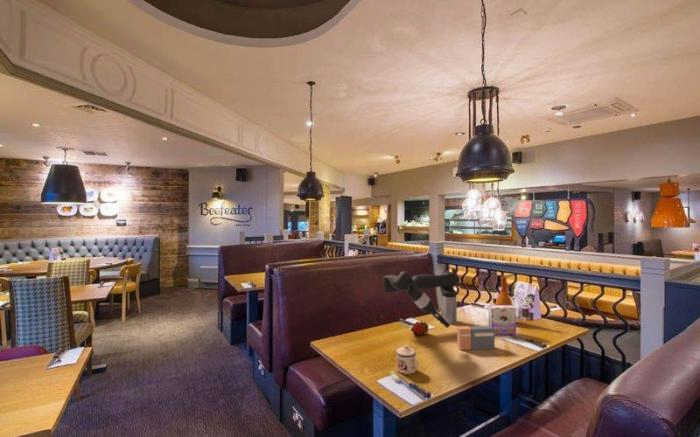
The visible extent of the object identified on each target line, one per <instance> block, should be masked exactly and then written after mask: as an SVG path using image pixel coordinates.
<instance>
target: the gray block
mask: <svg viewBox="0 0 700 437" xmlns="http://www.w3.org/2000/svg"><path fill="white" fill-rule="evenodd" d="M469 327H470V328H471V351H479V350H481V351H482V350H495V349H496V348H495V342H496V341H495V335H494V328H493V327H492V326H489V325H482V326H480V325H479V326H474V325H473V326H469Z"/></svg>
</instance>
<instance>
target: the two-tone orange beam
mask: <svg viewBox="0 0 700 437" xmlns="http://www.w3.org/2000/svg"><path fill="white" fill-rule="evenodd" d="M470 327H471V326H467V325H466V326H463V325H462V326H456V329H457V330H456V334H457V337H456V339H457V341H456V342H457V348H458V349H459V351H463V350H464V351H465V350H467V351H468V350H471V328H470ZM471 351H472V350H471Z"/></svg>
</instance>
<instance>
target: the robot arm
mask: <svg viewBox="0 0 700 437" xmlns="http://www.w3.org/2000/svg"><path fill="white" fill-rule="evenodd" d="M459 282H460V277H459V275H457V273H455V272H453V271H449V270H444V271H442V272H441V274H440V275H437V274H428V273H427V274H425V273H423V274H415V275H413V276H412V275H411V274H410V273H409V272H407V271H405V270H402V271H400V273H398V275H395V274H386V275H384V276H383V277H382V286H383V287H382V288H383V292H384V293H385V294H394V293H400V292H401V293H402V292H406V295H407V296H408V297H409V298H410V299H411V301H413V302H414V304H415V305H416V306H417V307H418V308H419V309H420V310H421V311H422V312H423V313H424V314H427V315H428V314H430V315H431V316H432V317H433V318H434V319H436V320H437V321H439V323H440V324H442V325H443V326H444V327H445V328H449V327H450V325H454V324H457V323H458V320H457V319H458V318H457V317H458V315H457V304H458V303H457V291H456V290H455V288H454V287H455V286H457V285H458V284H459ZM433 288H434V289H435V288H440V293H441V307H440V312H439V310H438V309H437V308H436V302H435V301H434V300H432V298H430V296H428V295H427V293H425V292H424V291H423V290H426V289H427V290H429V289H433Z"/></svg>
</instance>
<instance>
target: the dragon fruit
mask: <svg viewBox="0 0 700 437" xmlns="http://www.w3.org/2000/svg"><path fill="white" fill-rule="evenodd" d="M410 332H412V334H413V335H415V336H419V335H420V337H422V336H424V335H425V334H427V333H429V324H428V323H427V322H423V321H422V320H420V321H416V322H414V323H413V324H412V327H411V329H410Z"/></svg>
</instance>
